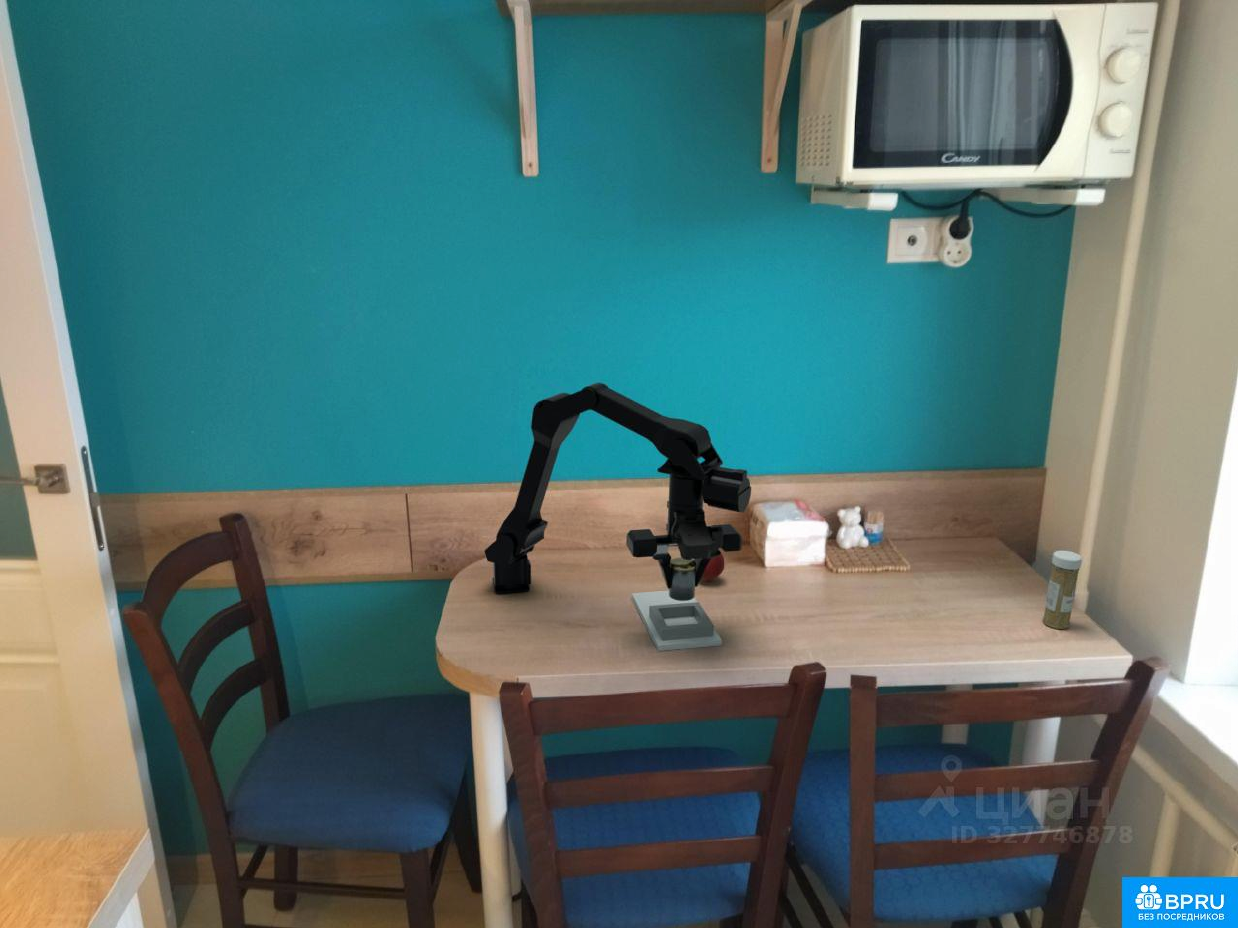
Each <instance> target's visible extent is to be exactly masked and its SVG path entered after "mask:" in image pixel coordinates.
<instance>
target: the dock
mask: <svg viewBox="0 0 1238 928" xmlns="http://www.w3.org/2000/svg"><path fill="white" fill-rule="evenodd" d="M631 600H632V603H634V606H635V607H636V610H637V612H638V615H640V618H641V620H642V621H643V625H644V626H645V628H646V630H647V632H648V634H649V636H650V638H651V639H652V641H653V644H654V645H655V647H656V650H657V651H658V652H663V651H674V650H684V649H694V648H695V649H696V648H705V647H717V646H722V645H723V643H722V642H723V641H722V638H721V637H720V635H719V633H718V632H717V630H716V629H715V625H714V624H713V622H712V620H711V619H710V617H709V616H708V614H707V612H706V610H705V609H704V608H703V607H702V605H701V604H700V602H699V601H697V599H696V598H695V597H694V598H693V599H691V600H688V601H678V600H674V599H672V598H670V597H669V590H659V591H657V590H656V591H646V592H645V591H643V592H634V593H633V592H632V593H631Z"/></svg>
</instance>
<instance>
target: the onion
mask: <svg viewBox="0 0 1238 928" xmlns="http://www.w3.org/2000/svg"><path fill="white" fill-rule="evenodd" d="M723 571H725V558H724V555H723V554H722V552H721V555H720V556H716V557H714V558H713V559H711V560H710V562H709V563H708V565H707V567H706V568H705V570H704V573H703V575H702V577H701V578H702V579H704V580H705V582H712V581H713V580H715V579H717V578H718V577H719V576H721V574H722V573H723Z"/></svg>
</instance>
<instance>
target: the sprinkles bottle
mask: <svg viewBox="0 0 1238 928" xmlns="http://www.w3.org/2000/svg"><path fill="white" fill-rule="evenodd" d="M1082 561H1083V558H1082V556H1081V555H1080V554H1078V553H1076V552H1073V551H1070V550H1056V551H1054V552H1053V555H1052V560H1051V563H1052V564H1051V565H1052V567H1051V572H1050V577H1049V582H1048V587H1047V592H1046V599H1045V607H1044V614H1043V616H1042V622H1043V624H1044V625H1046V626H1047V627H1049V628H1052V629H1056V630H1066V629H1068V628H1069V627H1070V626H1071V622H1070V620H1071V615H1072V610H1073V608H1074V601H1075V596H1076V589H1077V581H1078V577H1079V576H1078V575H1079V571H1080V568H1081V566H1082Z"/></svg>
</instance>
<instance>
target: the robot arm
mask: <svg viewBox="0 0 1238 928" xmlns="http://www.w3.org/2000/svg"><path fill="white" fill-rule="evenodd" d="M587 411H592V412H595V413H597V414H599V415H600V416H602V417H604V418H606V419H608V420H610V421H612V422H614V423H616V424H618V425H619V426H621V427H622V428H623V427H624V428H625V429H627V430H629V431H631V432H633V433H635V434H637V435H639V436H640V437H643V438H645V439H646V440H647V441H649V442H650V443H652V444H653V445H654V447H655V449H656V450H657V451H658V453H660V454H661V455H662V456H664V457H665V458H666V461H665V462H664V463H663V464H662V465H661V466H659V467H657V472H658V473H660V474H666V475H669V481H668V483H669V484H668V501H667V503H666V507H667V523H666V524H665V530H666V531H667V532H666V534H660V535H654V533H653V532H652V530H651V529H650V528H643V529H640V528H639V529H630V530H629V531H628V532H627V533H626V537H625V538H626V541H625V543H626V546H627V548H628V551H629V553H631V555H632V557H633V558H638V559H639V558H648V557H649V558H652V559H653V560H655V561H657V562H658V564H659V567H660V571H661V573H662V574H661V575H662V577H663V579H664V582H665V585H666V588H667V589H668V590H669V589H670V587H671V571H670V561H671V560H672V556H671V554H670V553H669V547H678V550H679V554H680V558H683V559H685V560H691V559H692V560H694V561H695V562H696V577H695V588H697V587H698V586H699V584H700V581H701V580H702V578H703V577H702V575H703V573H704V570H705V568H706V567H707V565H708V563H709V562H710V560H711V559H713V558H714V557H716V556H720V555H721V553H722V552H721V550H722V551H723V552H724V553H727V552H740V551H741V550H742V549H743V548H742V547H743V538H742V535H741V534H740V533H739V532H738V530H737V529H736V528H735V527H734V526H733V525H732V524H731V523H727V524H726V523H724V524H712V525H709V526H707V523H706V520H705V519H706V515H705V513H706V512H705V510H704V504H706V505H707V506H709V508H710V507H711V508H714V509H715V508H716V509H721V510H726V511H732V512H735V513H740V514H741V513H745V511H746V510H747V508H748V506H749V503H750V500H751V494H752V486H751V482H750V479H749V477H748V471H747V470H746V469H742V468H729V467H724V466H723V465H724V462H723V460H722V458H721V456H720V454H719V453H718V452H717V450H716V448H715V446H714V445H713V443H712V438H711V436H710V433H709V430H708V429H707V428H706V427H705V426H703V425H702V424H699V423H698V422H697V423H696V422H694V421H689V420H686V419H683V418H681V419H680V418H676V417H669V416H665V415H662V414H661V413H659V412H656V411H655V410H653V409H651V408H648V407H647V406H645V405H643V404H641V403H639V402H637V401H635V400H633V399H632V398H629V397H627V396H626V395H624V394H621V393H620V392H617V391H616V390H614V389H611V388H609V386H608V385H606V384H605V383H603V382H595V383H592V384H590V385H587V386H585V387H583V388H582V389H581V390H578V391H576V392H574V393H568V392H560V393H557V394H555V395H552V396H549V397H547V398H544V399H542V400H539V401H538V402H536V403H535V405H534V406H533V408H532V416H531V423H530V428H531V429H530V430H531V433H532V437H533V443H532V446H531V450H530V453H529V457H528V460H527V463H526V465H525V466H526V467H525V470H524V473H523V477H522V480H521V484H520V487H519V490H518V493H517V497H516V501H515V504H514V507H513V508H512V509H511V511H510V512H509V514H508V515H507V516H506V517H505V519H504V520H503V521H502V523H501V525H500V527H499V529H498V531H497V533H496V536H495V537H496V538H495V540H494V541H493V542H492V543H491V544H489V546H487V548H486V549H485V550H484V555H485V558H486V560H487V562H490V563H493V564H492V565H493V567H492V569H493V577H492V585H493V589H494V593H495V594H497V595H499V594H511V593H523V592H524V593H525V592H530V589H531V588H530V585H531V584H532V564H531V561H530V559H529V558H528V553H531V552H533V551H534V549H535V546H536V545H537V544H538V543H540V542H541V541H542V540H544V539H545V531H546V528H547V527H548V525H549V521H547V520H544V519H543V518H542V514H541V510H542V509H541V508H542V506H543V503H544V499H545V496H546V493H547V489H548V486H549V483H550V481H551V480H550V479H551V476H552V473H553V471H554V467H555V464H556V460H557V457H558V454H559V452H560V448H561V446H562V444H563V443H564V441H565V440H566V438H567V437H568V436H569V435H570V433H571V432H572V431H573V429H574V427H575V426H576V424H577V421H578V419H579V418H580V415H581V414H582V413H584V412H587ZM701 458H702V459H704V460H703V461H702V462H699V459H701ZM722 466H723V467H722ZM720 549H721V550H720Z"/></svg>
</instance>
